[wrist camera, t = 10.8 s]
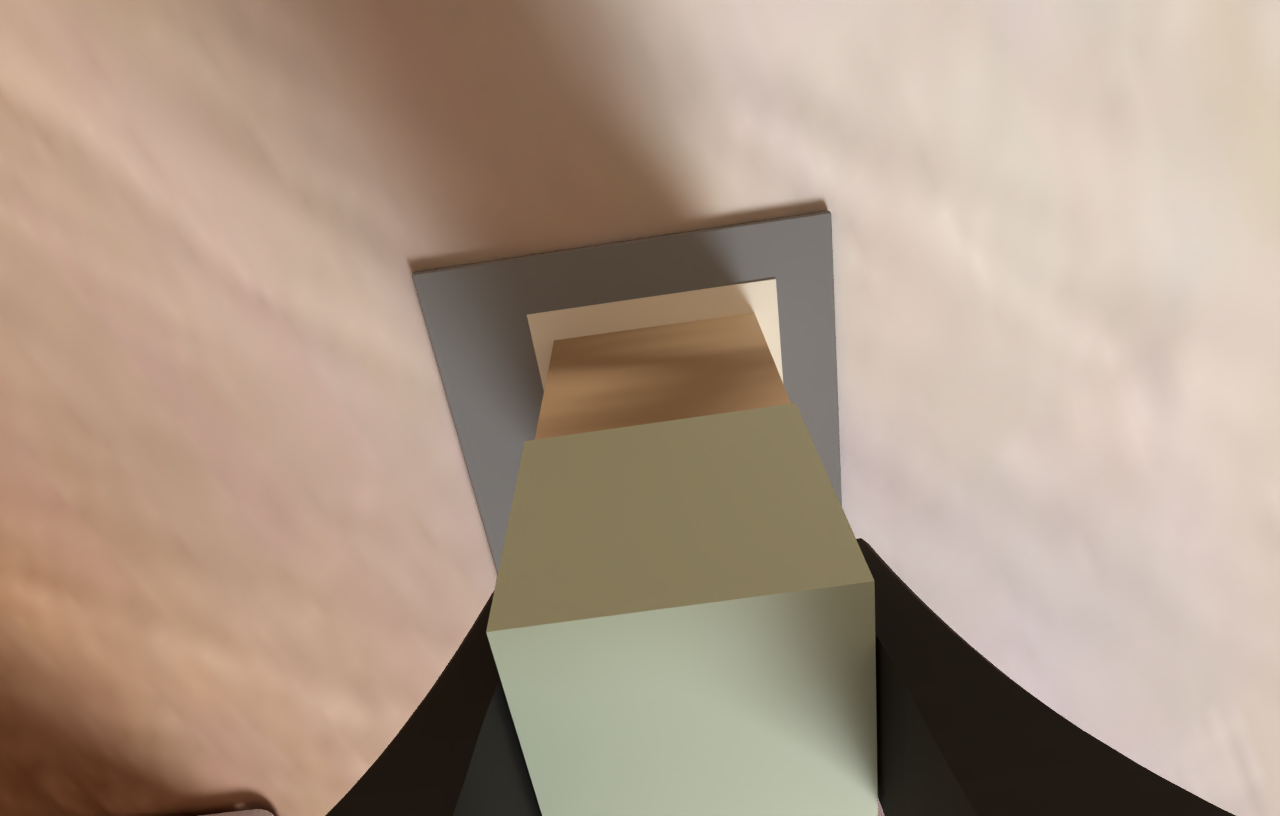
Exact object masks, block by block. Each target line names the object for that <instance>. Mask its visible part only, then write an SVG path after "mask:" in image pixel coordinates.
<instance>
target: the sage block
mask: <svg viewBox="0 0 1280 816" xmlns="http://www.w3.org/2000/svg"><path fill="white" fill-rule="evenodd" d="M486 633H487V637H488V640H489V643H490V646H491V650H492V653H493V656H494V659H495V663H496V666H497V669H498V673H499V676H500V679H501V682H502V686H503V689H504V692H505V695H506V699H507V702H508V705H509V709H510V712H511V715H512V718H513V722H514V725H515V728H516V732H517V735H518V738H519V741H520V745H521V748H522V751H523V754H524V758H525V761H526V764H527V768H528V771H529V774H530V777H531V781H532V784H533V787H534V790H535V794H536V797H537V800H538V804H539V807H540V810H541V813H542V816H878V785H877V716H876V648H875V581H874V579H873V577H872V574H871V572H870V570H869V568H868V565H867V563H866V561H865V558H864V556H863V554H862V552H861V549H860V547H859V545H858V543H857V540H856V538H855V536H854V534H853V531H852V529H851V527H850V525H849V522H848V520H847V518H846V516H845V513H844V511H843V509H842V506H841V504H840V502H839V500H838V497H837V495H836V493H835V491H834V488H833V486H832V484H831V482H830V479H829V477H828V475H827V473H826V470H825V468H824V466H823V464H822V461H821V459H820V457H819V454H818V452H817V450H816V448H815V445H814V443H813V441H812V439H811V436H810V434H809V432H808V430H807V427H806V425H805V423H804V421H803V418H802V416H801V414H800V412H799V409H798V407H797V405H796V403H792V404H785V405H778V406H771V407H763V408H756V409H749V410H742V411H735V412H728V413H721V414H714V415H707V416H700V417H692V418H685V419H678V420H671V421H664V422H657V423H650V424H643V425H636V426H629V427H621V428H614V429H607V430H600V431H593V432H586V433H579V434H572V435H565V436H558V437H550V438H543V439H536V440H529V441H525V442H524V447H523V452H522V457H521V462H520V467H519V471H518V476H517V481H516V486H515V491H514V496H513V501H512V506H511V511H510V516H509V521H508V526H507V531H506V536H505V541H504V546H503V551H502V556H501V561H500V566H499V571H498V576H497V581H496V586H495V591H494V596H493V601H492V605H491V610H490V615H489V620H488V625H487V630H486Z"/></svg>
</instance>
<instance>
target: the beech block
mask: <svg viewBox="0 0 1280 816" xmlns="http://www.w3.org/2000/svg"><path fill="white" fill-rule="evenodd" d="M785 404H791V402H790V399H789V397H788V394H787V392H786V390H785V387H784V385H783V382H782V380H781V377H780V375H779V372H778V370H777V367H776V365H775V362H774V360H773V357H772V355H771V352H770V350H769V347H768V345H767V342H766V340H765V337H764V335H763V333H762V330H761V328H760V325H759V323H758V320H757V318H756V315H755V313H747V314H740V315H733V316H726V317H719V318H711V319H704V320H697V321H690V322H683V323H675V324H668V325H661V326H654V327H647V328H639V329H632V330H625V331H618V332H611V333H603V334H596V335H589V336H582V337H575V338H567V339H560V340H554V343H553V348H552V353H551V358H550V364H549V369H548V374H547V379H546V384H545V389H544V394H543V399H542V404H541V410H540V415H539V420H538V425H537V430H536V435H535V440H536V439H543V438H550V437H558V436H565V435H572V434H579V433H586V432H593V431H600V430H607V429H614V428H621V427H629V426H636V425H643V424H650V423H657V422H664V421H671V420H678V419H685V418H692V417H700V416H707V415H714V414H721V413H728V412H735V411H742V410H749V409H756V408H763V407H771V406H778V405H785Z"/></svg>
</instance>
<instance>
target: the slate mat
mask: <svg viewBox="0 0 1280 816" xmlns="http://www.w3.org/2000/svg"><path fill="white" fill-rule="evenodd" d="M412 277H413V280H414V284H415V287H416V291H417V294H418V298H419V301H420V305H421V308H422V312H423V315H424V319H425V322H426V326H427V329H428V333H429V336H430V340H431V343H432V347H433V350H434V353H435V357H436V360H437V364H438V367H439V371H440V374H441V378H442V381H443V385H444V388H445V392H446V395H447V399H448V402H449V406H450V409H451V413H452V416H453V420H454V423H455V426H456V430H457V433H458V437H459V440H460V444H461V447H462V451H463V454H464V458H465V461H466V465H467V468H468V472H469V475H470V479H471V482H472V486H473V489H474V493H475V496H476V499H477V503H478V506H479V510H480V513H481V517H482V520H483V524H484V527H485V531H486V534H487V538H488V541H489V545H490V548H491V552H492V555H493V559H494V562H495V566H496V569H497V572H498V571H499V566H500V561H501V556H502V551H503V546H504V541H505V536H506V531H507V526H508V521H509V516H510V511H511V506H512V501H513V496H514V491H515V486H516V481H517V476H518V471H519V467H520V462H521V457H522V452H523V447H524V442H525V441H529V440H535V435H536V430H537V425H538V420H539V415H540V410H541V404H542V399H543V394H544V389H545V384H546V379H547V374H548V369H549V364H550V358H551V353H552V348H553V343H554V340H560V339H567V338H575V337H582V336H589V335H596V334H603V333H611V332H618V331H625V330H632V329H639V328H647V327H654V326H661V325H668V324H675V323H683V322H690V321H697V320H704V319H711V318H719V317H726V316H733V315H740V314H747V313H755V315H756V318H757V320H758V323H759V325H760V328H761V330H762V333H763V335H764V337H765V340H766V342H767V345H768V347H769V350H770V352H771V355H772V357H773V360H774V362H775V365H776V367H777V370H778V372H779V375H780V377H781V380H782V382H783V385H784V387H785V390H786V392H787V394H788V397H789V399H790V402H791V404H792V403H796V405H797V407H798V409H799V412H800V414H801V416H802V418H803V421H804V423H805V425H806V427H807V430H808V432H809V434H810V436H811V439H812V441H813V443H814V445H815V448H816V450H817V452H818V454H819V457H820V459H821V461H822V464H823V466H824V468H825V470H826V473H827V475H828V477H829V479H830V482H831V484H832V486H833V488H834V491H835V493H836V495H837V497H838V500H839V502H840V504H841V506H842V499H841V472H840V444H839V417H838V389H837V361H836V334H835V306H834V279H833V251H832V224H831V213H830V211H825V212H818V213H811V214H804V215H798V216H791V217H784V218H778V219H771V220H764V221H757V222H751V223H744V224H737V225H730V226H724V227H717V228H710V229H703V230H697V231H690V232H683V233H677V234H670V235H663V236H656V237H650V238H643V239H636V240H629V241H623V242H616V243H609V244H603V245H596V246H589V247H582V248H576V249H569V250H562V251H555V252H549V253H542V254H535V255H529V256H522V257H515V258H508V259H502V260H495V261H488V262H481V263H475V264H468V265H461V266H455V267H448V268H441V269H434V270H428V271H421V272H414V273H413V275H412Z"/></svg>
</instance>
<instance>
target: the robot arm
mask: <svg viewBox="0 0 1280 816" xmlns="http://www.w3.org/2000/svg"><path fill="white" fill-rule="evenodd" d="M856 540H857V543H858V545H859V547H860V549H861V552H862V554H863V556H864V558H865V561H866V563H867V565H868V568H869V570H870V572H871V574H872V577H873V579H874V581H875V648H876V716H877V785H878V798H879V801H880V804H881V806H882V809H883V812H884V814H885V816H1235V815H1233V814H1231V813H1229V812H1227V811H1225V810H1223V809H1221V808H1219V807H1217V806H1215V805H1213V804H1211V803H1209V802H1207V801H1205V800H1203V799H1201V798H1200V797H1198V796H1196V795H1194V794H1192V793H1190V792H1188V791H1186V790H1184V789H1183V788H1181V787H1179V786H1177V785H1175V784H1173V783H1171V782H1169V781H1167V780H1166V779H1164V778H1162V777H1160V776H1158V775H1157V774H1155V773H1153V772H1151V771H1150V770H1148V769H1146V768H1144V767H1142V766H1141V765H1139V764H1137V763H1136V762H1134V761H1132V760H1131V759H1129V758H1127V757H1126V756H1124V755H1123V754H1121V753H1119V752H1118V751H1116V750H1114V749H1113V748H1111V747H1109V746H1108V745H1106V744H1104V743H1103V742H1101V741H1100V740H1098V739H1096V738H1095V737H1093V736H1091V735H1090V734H1088V733H1086V732H1085V731H1083V730H1081V729H1080V728H1079V727H1077V726H1076V725H1074V724H1073V723H1071V722H1070V721H1068V720H1067V719H1065V718H1064V717H1062V716H1061V715H1059V714H1058V713H1056V712H1055V711H1053V710H1052V709H1051V708H1049V707H1048V706H1047V705H1045V704H1044V703H1042V702H1041V701H1040V700H1038V699H1037V698H1035V697H1034V696H1033V695H1031V694H1030V693H1029V692H1027V691H1026V690H1025V689H1023V688H1022V687H1021V686H1019V685H1018V684H1017V683H1015V682H1014V681H1013V680H1012V679H1010V678H1009V677H1008V676H1006V675H1005V674H1004V673H1003V672H1001V671H1000V670H999V669H998V668H996V667H995V666H994V665H993V664H992V663H990V662H989V661H988V660H987V659H986V658H985V657H983V656H982V655H981V654H980V653H979V652H977V651H976V650H975V649H974V648H973V647H971V646H970V645H969V644H968V643H967V642H966V641H965V640H963V639H962V638H961V637H960V636H959V635H958V634H957V633H956V632H954V631H953V630H952V629H951V628H950V627H949V626H948V625H947V624H946V623H945V622H944V621H943V620H942V619H941V618H940V617H938V616H937V615H936V614H935V613H934V612H933V611H932V610H931V609H930V608H929V607H928V606H927V605H926V604H925V603H924V602H923V601H922V600H921V599H920V598H919V597H918V596H917V595H916V594H915V593H914V592H913V591H912V590H911V589H910V588H909V587H908V586H907V585H906V584H905V583H904V582H903V581H902V580H901V579H900V578H899V577H898V576H897V575H896V574H895V573H894V572H893V571H892V569H891V568H890V567H889V566H888V565H887V564H886V563H885V562H884V561H883V560H882V559H881V557H880V556H879V555H878V554H877V553H876V552H875V551H874V550H873V548H872V547H871V546H870V545H869V544H868V543H867V542H865V541H864V540H863V539H862V538H860V539H856ZM494 591H495V590H494ZM493 596H494V592H493V593H492V595H491V597H490V598H489V600H488V601H487V603H486V605H485V606H484V608H483V610H482V611H481V613H480V615H479V616H478V618H477V620H476V621H475V623H474V624H473V626H472V628H471V629H470V631H469V633H468V634H467V636H466V637H465V639H464V640H463V642H462V644H461V645H460V647H459V648H458V650H457V651H456V653H455V654H454V656H453V657H452V659H451V660H450V662H449V663H448V665H447V666H446V668H445V669H444V671H443V672H442V674H441V675H440V677H439V678H438V680H437V681H436V683H435V684H434V686H433V687H432V688H431V690H430V691H429V693H428V694H427V696H426V697H425V698H424V700H423V701H422V702H421V704H420V705H419V706H418V708H417V709H416V710H415V712H414V713H413V714H412V716H411V717H410V718H409V720H408V721H407V722H406V724H405V725H404V726H403V728H402V729H401V730H400V732H399V733H398V734H397V736H396V737H395V738H394V739H393V741H392V742H391V743H390V744H389V745H388V747H387V748H386V749H385V750H384V752H383V753H382V754H381V755H380V756H379V758H378V759H377V760H376V761H375V762H374V764H373V765H372V766H371V767H370V768H369V769H368V771H367V772H366V773H365V774H364V775H363V776H362V777H361V778H360V780H359V781H358V782H357V783H356V784H355V785H354V786H353V788H352V789H351V790H350V791H349V792H348V793H347V794H346V795H345V796H344V797H343V798H342V799H341V800H340V801H339V802H338V804H337V805H336V806H335V807H334V808H333V809H332V810H331V811H330V812H329V813H328V814H327V815H326V816H542V813H541V810H540V807H539V804H538V800H537V797H536V794H535V790H534V787H533V784H532V781H531V777H530V774H529V771H528V768H527V764H526V761H525V758H524V754H523V751H522V748H521V745H520V741H519V738H518V735H517V732H516V728H515V725H514V722H513V718H512V715H511V712H510V709H509V705H508V702H507V699H506V695H505V692H504V689H503V686H502V682H501V679H500V676H499V673H498V669H497V666H496V663H495V659H494V656H493V653H492V650H491V646H490V643H489V640H488V637H487V633H486V630H487V625H488V620H489V615H490V610H491V605H492V601H493ZM199 816H274V815H273V814H272V813H271V812H269V811H267V810H263V809H251V810H243V811H234V812H225V813H217V814H208V815H199Z"/></svg>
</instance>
